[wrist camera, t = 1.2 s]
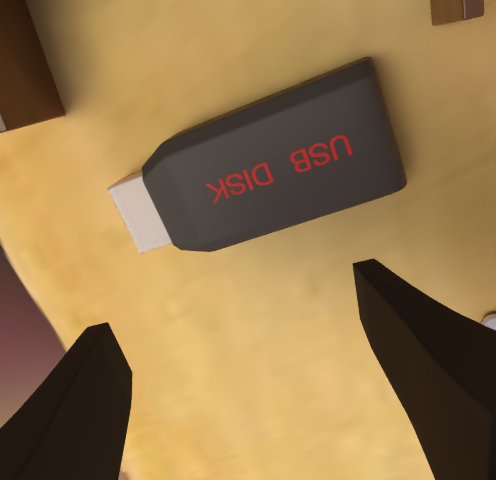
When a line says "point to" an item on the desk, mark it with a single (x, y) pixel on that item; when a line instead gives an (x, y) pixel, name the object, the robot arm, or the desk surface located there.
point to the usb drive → (266, 165)
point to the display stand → (40, 79)
